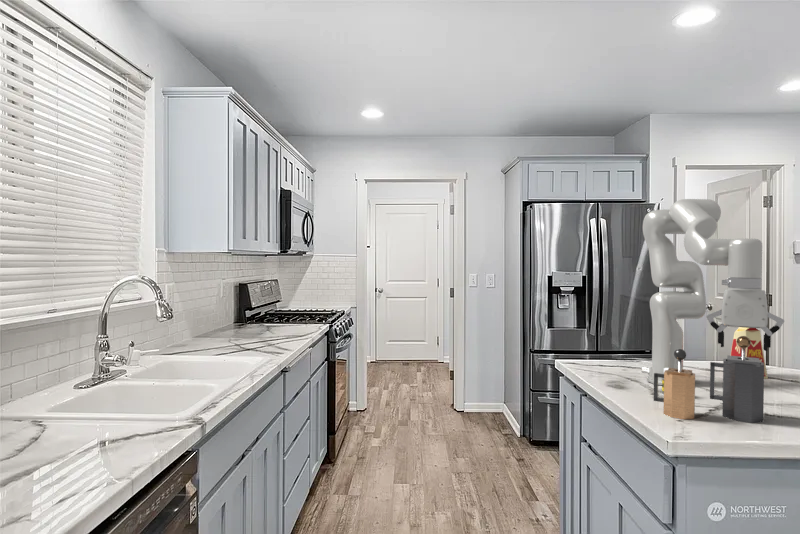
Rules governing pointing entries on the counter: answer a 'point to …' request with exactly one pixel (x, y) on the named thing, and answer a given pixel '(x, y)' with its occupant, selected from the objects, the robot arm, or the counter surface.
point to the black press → (740, 388)
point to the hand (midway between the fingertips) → (743, 348)
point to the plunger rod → (743, 344)
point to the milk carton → (755, 347)
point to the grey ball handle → (679, 357)
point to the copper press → (677, 393)
